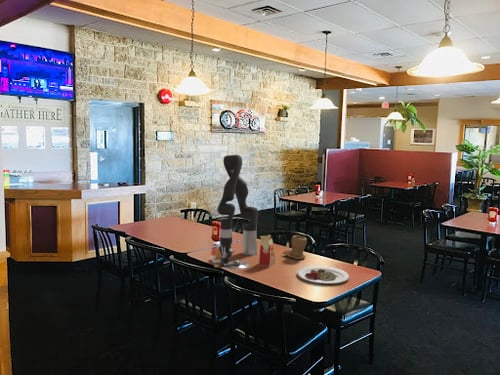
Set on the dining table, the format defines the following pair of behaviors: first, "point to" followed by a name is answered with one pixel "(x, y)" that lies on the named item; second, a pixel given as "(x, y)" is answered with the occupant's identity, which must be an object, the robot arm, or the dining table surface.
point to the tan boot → (297, 247)
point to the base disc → (242, 266)
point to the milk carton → (266, 252)
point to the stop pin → (218, 254)
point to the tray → (215, 260)
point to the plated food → (323, 274)
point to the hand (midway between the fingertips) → (225, 263)
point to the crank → (235, 263)
